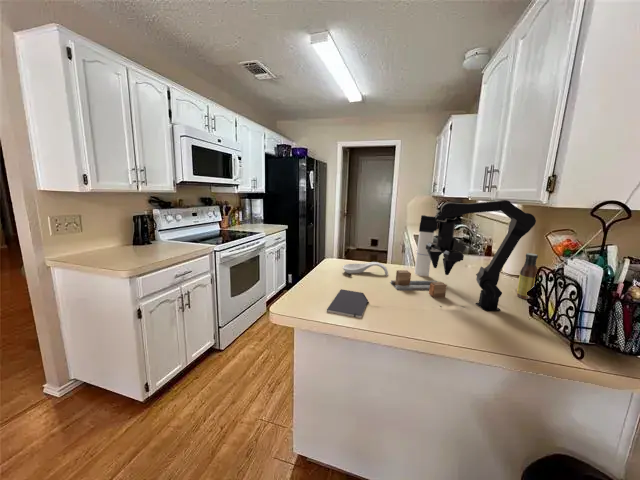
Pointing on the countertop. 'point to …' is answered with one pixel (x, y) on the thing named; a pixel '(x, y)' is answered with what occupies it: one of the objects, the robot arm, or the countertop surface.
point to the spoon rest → (362, 267)
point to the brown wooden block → (437, 289)
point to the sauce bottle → (527, 276)
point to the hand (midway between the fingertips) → (440, 271)
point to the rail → (413, 285)
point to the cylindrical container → (423, 254)
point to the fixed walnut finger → (402, 277)
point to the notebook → (348, 303)
